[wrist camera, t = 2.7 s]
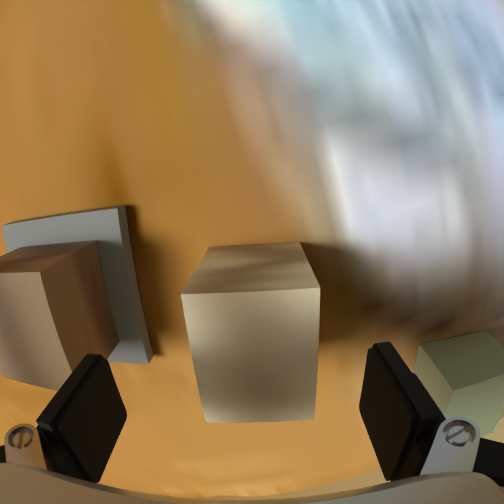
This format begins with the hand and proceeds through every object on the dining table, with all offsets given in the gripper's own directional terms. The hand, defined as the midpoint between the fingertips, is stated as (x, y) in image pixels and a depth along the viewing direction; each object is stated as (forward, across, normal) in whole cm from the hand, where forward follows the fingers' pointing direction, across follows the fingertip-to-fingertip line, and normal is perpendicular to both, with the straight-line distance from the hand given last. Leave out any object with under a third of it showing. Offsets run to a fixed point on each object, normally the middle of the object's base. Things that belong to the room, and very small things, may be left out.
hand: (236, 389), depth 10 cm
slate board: (+7, +10, -1) cm, 12 cm away
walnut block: (+6, +10, -1) cm, 12 cm away
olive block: (+7, -14, +7) cm, 17 cm away
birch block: (+7, -1, 0) cm, 7 cm away
